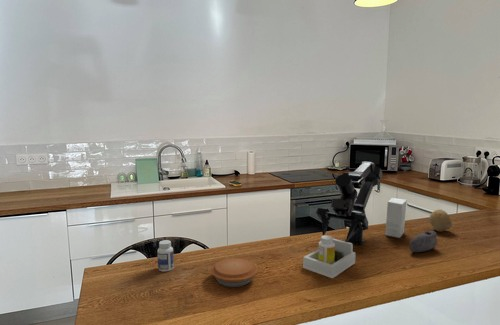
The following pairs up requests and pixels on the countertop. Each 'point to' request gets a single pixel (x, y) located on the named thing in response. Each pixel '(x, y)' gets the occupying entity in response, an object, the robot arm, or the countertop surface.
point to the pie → (234, 272)
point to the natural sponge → (440, 220)
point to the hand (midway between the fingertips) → (334, 237)
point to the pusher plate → (338, 255)
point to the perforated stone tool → (423, 242)
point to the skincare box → (395, 217)
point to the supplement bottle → (326, 250)
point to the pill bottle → (165, 256)
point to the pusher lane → (336, 268)
